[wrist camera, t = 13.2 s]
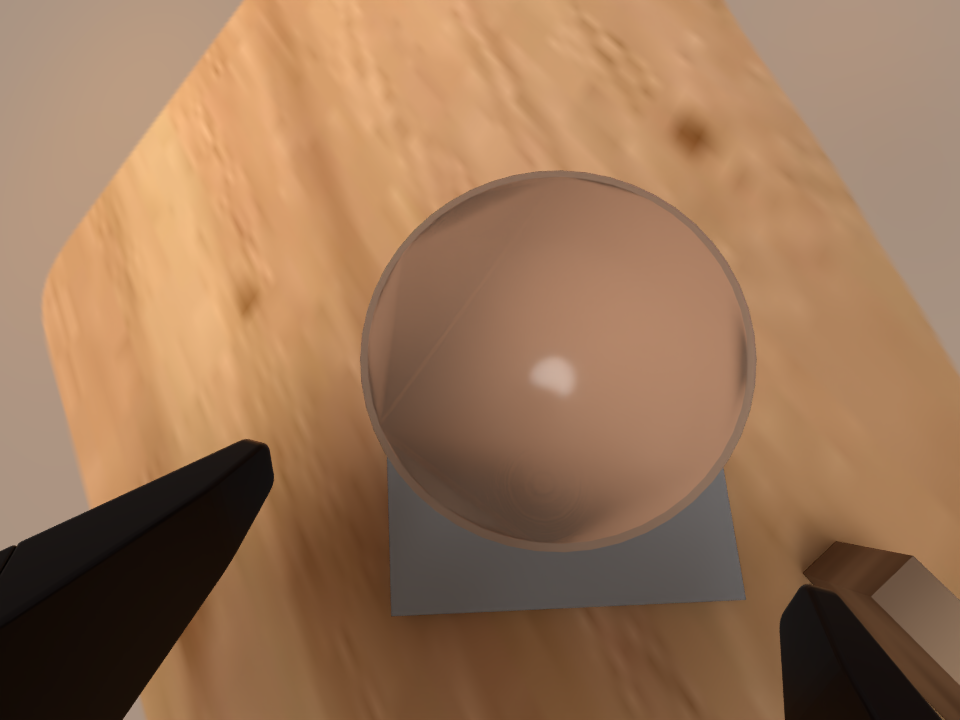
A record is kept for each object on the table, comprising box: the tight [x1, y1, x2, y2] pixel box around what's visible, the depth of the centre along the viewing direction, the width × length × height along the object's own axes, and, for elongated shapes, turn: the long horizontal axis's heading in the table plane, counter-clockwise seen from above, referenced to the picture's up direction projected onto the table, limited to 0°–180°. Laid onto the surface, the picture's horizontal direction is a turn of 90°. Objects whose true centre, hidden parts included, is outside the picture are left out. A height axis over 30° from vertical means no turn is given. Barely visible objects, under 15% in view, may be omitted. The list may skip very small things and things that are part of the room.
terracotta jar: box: [360, 171, 757, 552], centre depth 13 cm, size 5×5×13 cm
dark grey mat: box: [387, 457, 746, 616], centre depth 20 cm, size 12×12×1 cm
